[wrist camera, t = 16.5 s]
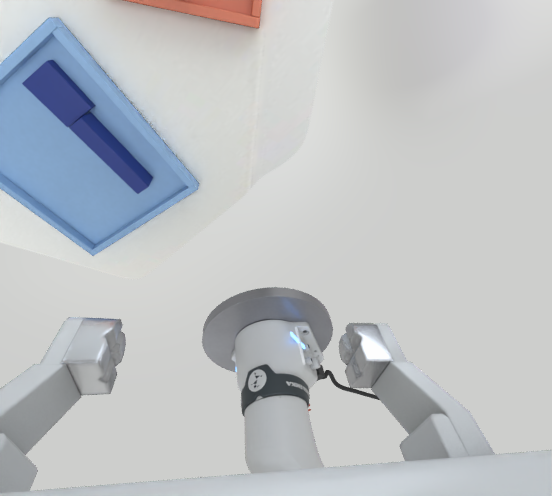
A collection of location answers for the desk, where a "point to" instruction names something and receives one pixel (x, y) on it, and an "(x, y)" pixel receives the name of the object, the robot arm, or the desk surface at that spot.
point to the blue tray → (79, 149)
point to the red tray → (214, 9)
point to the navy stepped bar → (85, 122)
